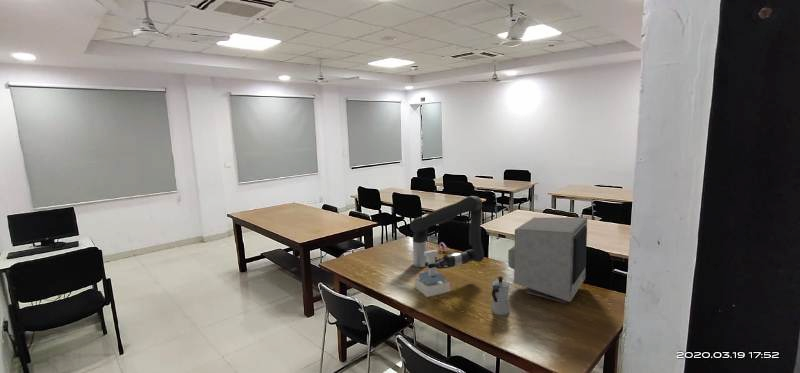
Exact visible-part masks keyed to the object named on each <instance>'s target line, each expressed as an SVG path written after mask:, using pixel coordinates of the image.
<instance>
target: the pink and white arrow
mask: <svg viewBox="0 0 800 373" xmlns="http://www.w3.org/2000/svg"><path fill="white" fill-rule="evenodd" d="M438 246H439V251H440V250H441V251H440V252H445V251H448V252H450V254H453V253H459V252H458V251H457V252H455V249H450V248H449V247H447V245H446V244H445V243H444V242H440V243H439V244H438ZM442 246H443V247H442ZM442 248H443V250H442Z"/></svg>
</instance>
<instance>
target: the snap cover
mask: <svg viewBox="0 0 800 373" xmlns="http://www.w3.org/2000/svg"><path fill="white" fill-rule="evenodd" d="M438 254H439V250H438V249H433V250H431V249H430V250H427V251H426V252H424V256H427V262H428V264H433V263H435V257H436V256H435V255H438ZM418 278H420V279H422V280H423V281H424V282H426V283H427V284H430V283H435V282H439V281H443V280H446V277H445V275H442V274H441V273H440V272H438V271H437V270H436V268H428V267H427V272H420V273H418Z"/></svg>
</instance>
